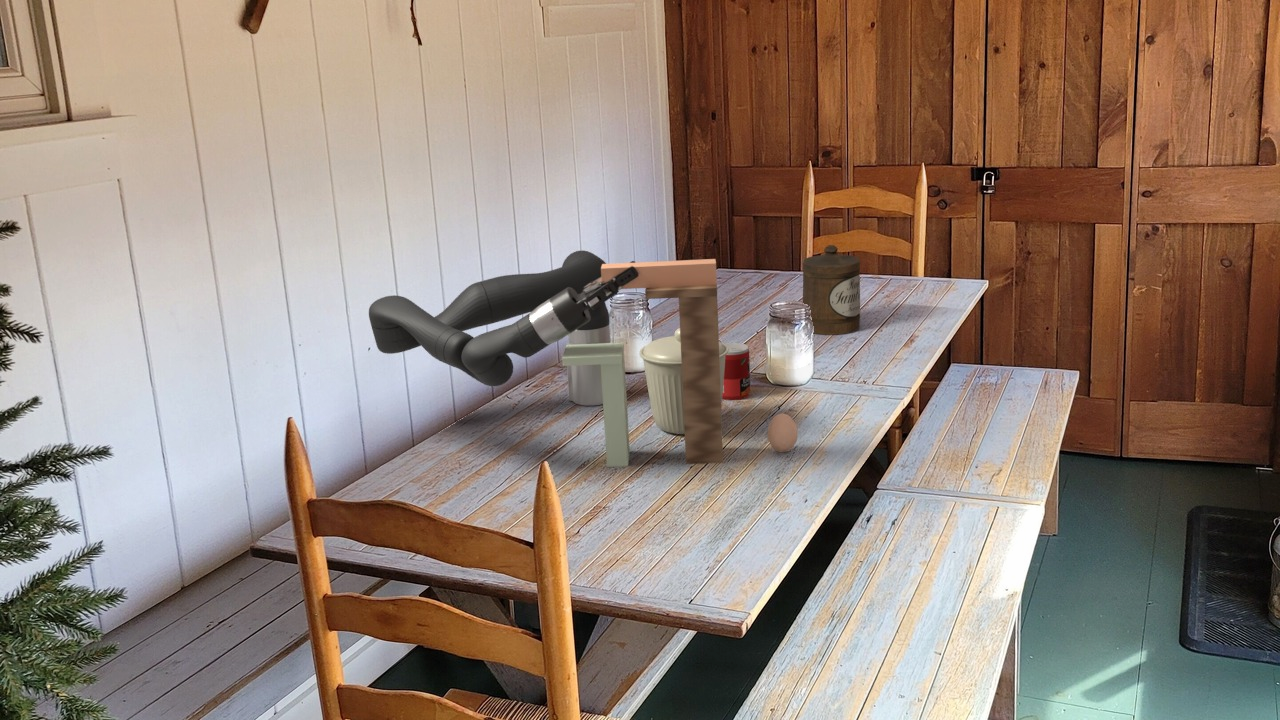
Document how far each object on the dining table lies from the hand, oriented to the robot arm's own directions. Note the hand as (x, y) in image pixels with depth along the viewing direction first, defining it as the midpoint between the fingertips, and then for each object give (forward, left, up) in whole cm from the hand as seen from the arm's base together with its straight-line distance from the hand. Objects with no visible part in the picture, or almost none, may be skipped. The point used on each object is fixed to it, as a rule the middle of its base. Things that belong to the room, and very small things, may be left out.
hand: (636, 268), depth 222 cm
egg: (+22, +14, -38) cm, 46 cm away
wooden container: (-5, +101, -38) cm, 108 cm away
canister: (-2, +19, -38) cm, 42 cm away
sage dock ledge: (-8, -4, -37) cm, 38 cm away
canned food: (-3, +41, -38) cm, 55 cm away
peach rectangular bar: (+4, +2, -3) cm, 5 cm away
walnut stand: (+7, +4, -37) cm, 38 cm away
